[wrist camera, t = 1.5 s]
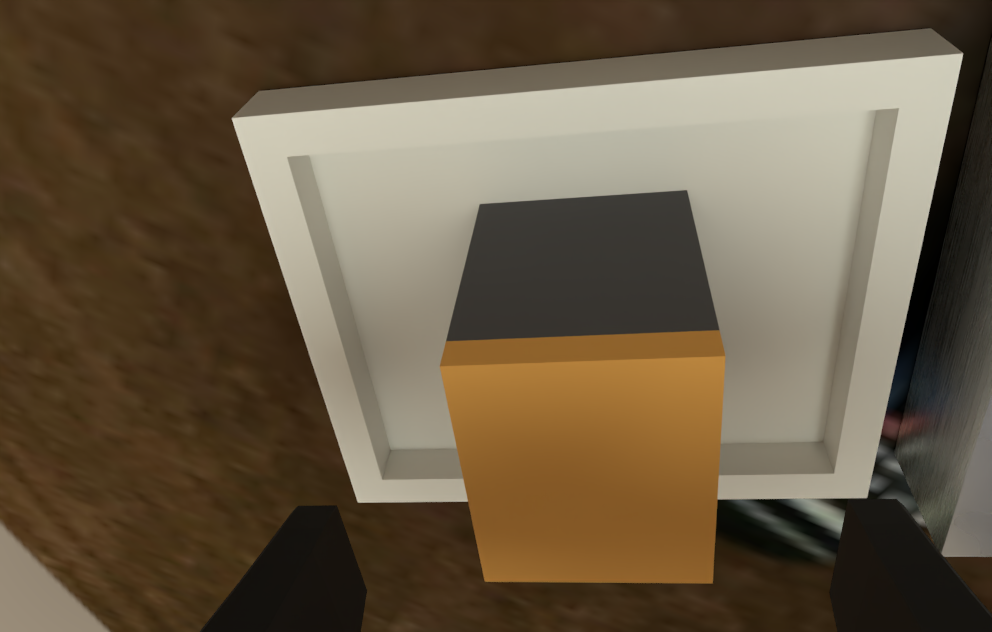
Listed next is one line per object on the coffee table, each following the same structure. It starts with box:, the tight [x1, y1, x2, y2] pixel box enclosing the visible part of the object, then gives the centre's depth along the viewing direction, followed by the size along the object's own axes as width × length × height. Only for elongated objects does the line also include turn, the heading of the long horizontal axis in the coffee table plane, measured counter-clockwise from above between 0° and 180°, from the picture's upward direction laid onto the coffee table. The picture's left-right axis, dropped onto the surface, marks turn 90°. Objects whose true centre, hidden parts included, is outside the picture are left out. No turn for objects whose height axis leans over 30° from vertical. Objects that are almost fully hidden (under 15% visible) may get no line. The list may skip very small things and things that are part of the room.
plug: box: [440, 190, 726, 583], centre depth 14 cm, size 5×4×5 cm
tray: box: [232, 28, 963, 503], centre depth 16 cm, size 10×12×1 cm
